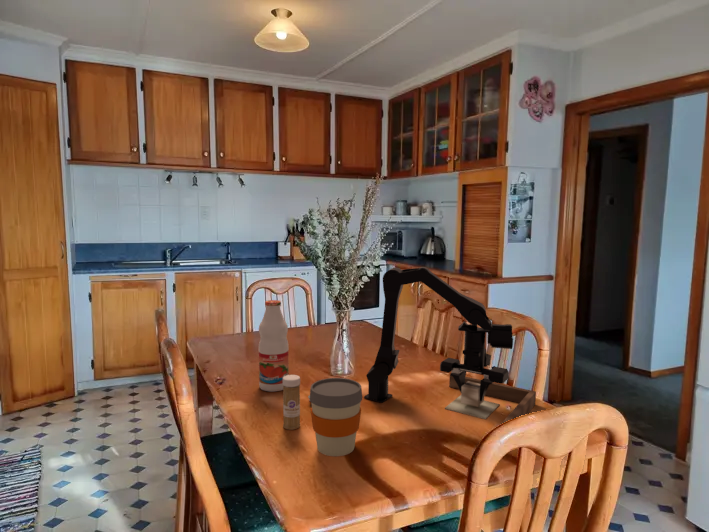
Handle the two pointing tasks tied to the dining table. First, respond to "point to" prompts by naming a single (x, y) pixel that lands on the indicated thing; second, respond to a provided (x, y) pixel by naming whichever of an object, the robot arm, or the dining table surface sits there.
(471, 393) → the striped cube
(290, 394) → the sprinkles bottle
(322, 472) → the dining table surface
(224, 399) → the dining table surface
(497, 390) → the corner arena
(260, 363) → the fruit juice
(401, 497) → the dining table surface
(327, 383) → the reusable coffee cup
